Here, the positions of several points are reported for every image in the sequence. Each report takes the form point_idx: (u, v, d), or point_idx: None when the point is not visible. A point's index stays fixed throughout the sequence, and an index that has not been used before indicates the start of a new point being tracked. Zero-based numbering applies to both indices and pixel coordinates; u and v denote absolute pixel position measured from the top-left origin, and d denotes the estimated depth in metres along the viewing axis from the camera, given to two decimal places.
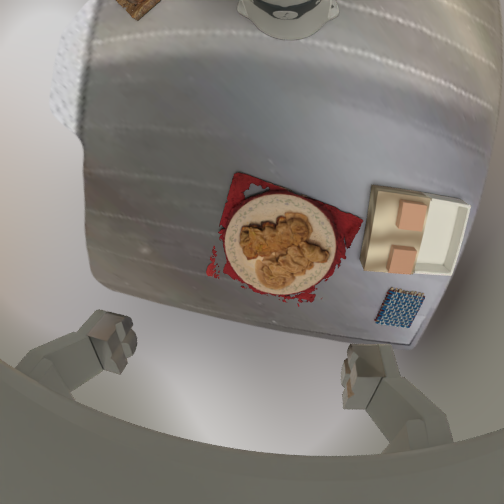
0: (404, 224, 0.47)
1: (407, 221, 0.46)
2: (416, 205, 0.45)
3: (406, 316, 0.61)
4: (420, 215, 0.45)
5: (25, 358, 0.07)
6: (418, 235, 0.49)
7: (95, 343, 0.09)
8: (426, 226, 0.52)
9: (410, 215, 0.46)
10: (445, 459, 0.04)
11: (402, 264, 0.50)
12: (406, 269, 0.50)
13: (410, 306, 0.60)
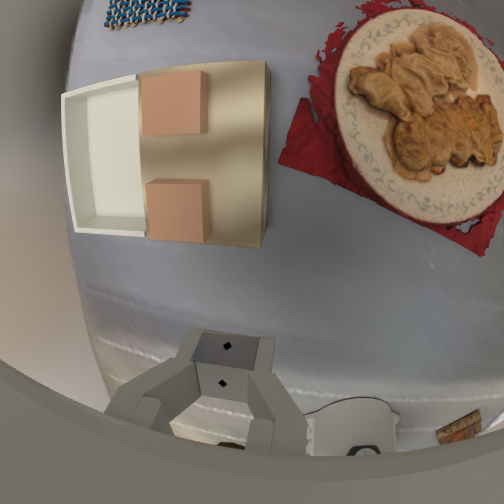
0: (189, 195, 0.22)
1: (184, 203, 0.23)
2: (173, 238, 0.24)
3: None
4: (158, 218, 0.24)
5: (116, 398, 0.06)
6: (149, 163, 0.24)
7: (201, 368, 0.08)
8: (139, 162, 0.28)
9: (180, 216, 0.23)
10: (445, 459, 0.04)
11: (169, 97, 0.19)
12: (155, 87, 0.19)
13: None
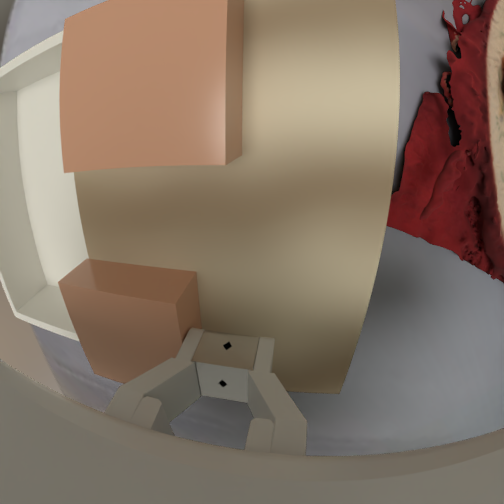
0: (150, 323, 0.09)
1: (141, 335, 0.09)
2: None
3: None
4: (98, 349, 0.10)
5: (116, 398, 0.06)
6: (100, 227, 0.10)
7: (202, 368, 0.08)
8: None
9: (140, 356, 0.10)
10: (445, 459, 0.04)
11: (126, 54, 0.05)
12: (93, 33, 0.05)
13: None
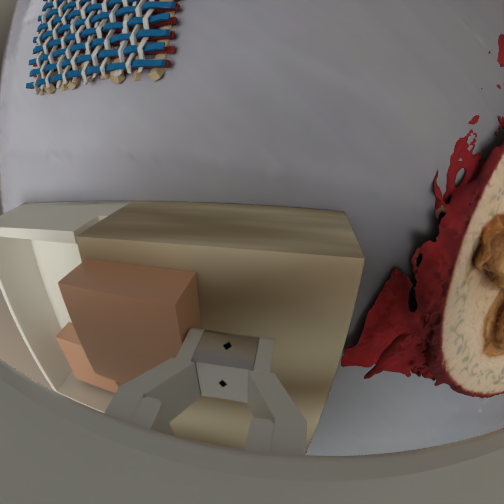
0: None
1: None
2: None
3: None
4: None
5: (116, 398, 0.06)
6: None
7: (202, 368, 0.08)
8: None
9: None
10: (445, 459, 0.04)
11: (120, 338, 0.09)
12: (88, 311, 0.09)
13: (64, 32, 0.10)
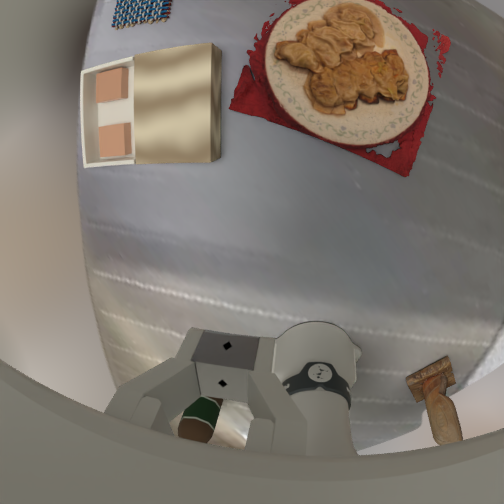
0: None
1: None
2: None
3: None
4: None
5: (116, 398, 0.06)
6: (139, 111, 0.33)
7: (201, 368, 0.08)
8: None
9: None
10: (445, 459, 0.04)
11: None
12: None
13: (129, 7, 0.29)
